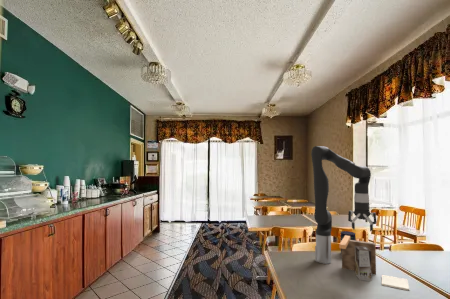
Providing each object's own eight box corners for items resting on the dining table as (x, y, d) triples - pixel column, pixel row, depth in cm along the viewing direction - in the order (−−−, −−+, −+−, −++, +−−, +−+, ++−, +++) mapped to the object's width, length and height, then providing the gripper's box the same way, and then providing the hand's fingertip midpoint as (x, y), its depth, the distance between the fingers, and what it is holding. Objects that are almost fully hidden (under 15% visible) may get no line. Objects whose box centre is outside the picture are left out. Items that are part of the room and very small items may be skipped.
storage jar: (355, 253, 195) (355, 232, 196) (356, 257, 186) (355, 235, 187) (340, 251, 199) (340, 230, 200) (340, 255, 190) (340, 233, 191)
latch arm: (339, 248, 148) (339, 244, 148) (345, 238, 168) (345, 235, 168) (345, 249, 146) (345, 245, 146) (350, 239, 167) (350, 236, 167)
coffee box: (372, 281, 146) (371, 250, 147) (359, 280, 148) (358, 249, 149) (366, 274, 155) (366, 246, 156) (354, 273, 157) (354, 245, 158)
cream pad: (381, 285, 142) (381, 283, 142) (381, 276, 154) (381, 274, 154) (409, 290, 136) (409, 289, 136) (407, 280, 148) (407, 279, 148)
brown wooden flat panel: (342, 268, 165) (341, 239, 166) (342, 266, 167) (342, 238, 169) (375, 274, 156) (375, 244, 157) (376, 272, 158) (375, 243, 159)
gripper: (347, 201, 155) (347, 229, 154) (375, 202, 148) (376, 233, 146) (348, 199, 161) (349, 227, 160) (376, 201, 154) (376, 230, 153)
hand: (362, 230), depth 153 cm, fingers open, 8 cm apart
